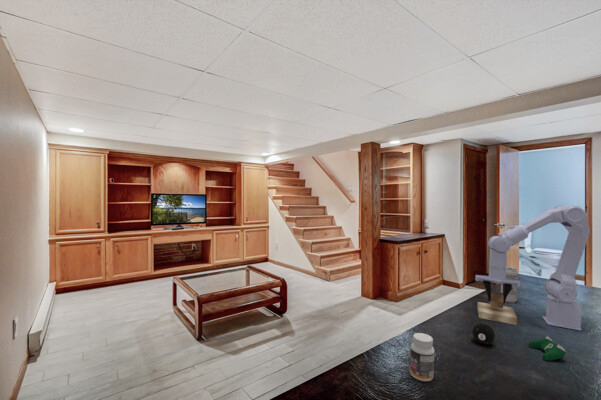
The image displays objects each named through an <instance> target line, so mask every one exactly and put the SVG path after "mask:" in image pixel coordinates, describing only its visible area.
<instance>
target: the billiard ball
mask: <svg viewBox="0 0 601 400" xmlns="http://www.w3.org/2000/svg"><path fill="white" fill-rule="evenodd" d="M471 333H472V337H473V338H474V340H475V341H476V342H477V343H479V344H482V345H491V344H492V343H494V340H495V338H496V337H495V336H496V334H495V331H494V329H493V328H492V327H491V326H490V325H489V324H486V323H480V322H479V323H476V324H475V325H474V326H472V332H471Z"/></svg>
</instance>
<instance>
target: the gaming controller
mask: <svg viewBox="0 0 601 400" xmlns="http://www.w3.org/2000/svg"><path fill="white" fill-rule="evenodd" d="M528 347H529V348H532V349H542V350H543V351H544V354H543V355H542V359H543V360H545V361H555V360H560V359H561V358H564V357H565V354H567V353H566V350H565V349H564V348H563V347H562V346H561V345H560V344H557V343H555V342H554V341H553V340H552V338H550V337H549V336H548V335H547V336H545V337H544V338H541V339H533V340H530V341H529V342H528Z"/></svg>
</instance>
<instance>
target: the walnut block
mask: <svg viewBox="0 0 601 400" xmlns="http://www.w3.org/2000/svg"><path fill="white" fill-rule="evenodd" d="M503 297H504V295H503V293H501V291H492V290H491V301H489V304H490V306H491V307H497V308H503V306H504V304H503Z"/></svg>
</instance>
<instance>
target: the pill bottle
mask: <svg viewBox="0 0 601 400" xmlns="http://www.w3.org/2000/svg"><path fill="white" fill-rule="evenodd" d="M412 341H413V342H412V343H411V345H410V352H409V353H410V355H409V356H410V357H409V374H410V375H411V376H412V377H413V378H414V379H416V380H418V381H420V382H430V381H432V380H433V378H434V375H435V374H434V373H435V355H436V354H435V352H436V351H435V348H434V346H433V345H434V339H433V337H432V336H430V335H429V334H426V333H422V332H415V333H414V334H413V336H412Z"/></svg>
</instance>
